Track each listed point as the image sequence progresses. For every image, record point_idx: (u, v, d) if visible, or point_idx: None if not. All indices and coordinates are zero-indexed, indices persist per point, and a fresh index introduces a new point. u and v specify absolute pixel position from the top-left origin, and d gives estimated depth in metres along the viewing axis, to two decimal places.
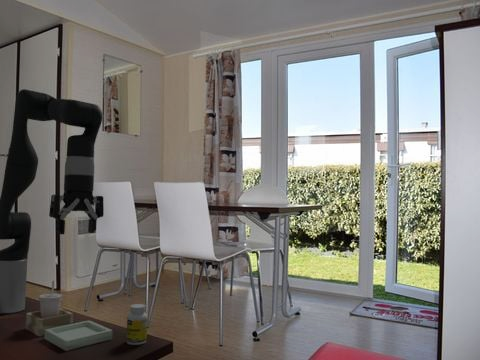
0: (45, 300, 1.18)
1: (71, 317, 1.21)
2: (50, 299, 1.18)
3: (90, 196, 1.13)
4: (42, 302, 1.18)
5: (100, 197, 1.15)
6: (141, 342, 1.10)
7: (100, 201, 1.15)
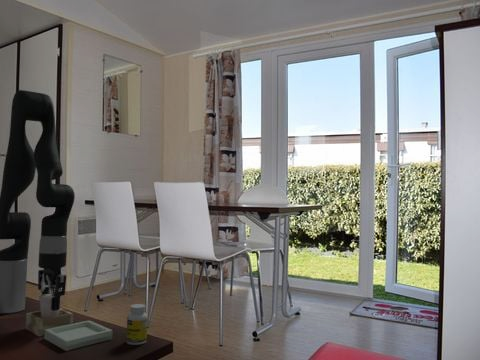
0: (45, 300, 1.18)
1: (71, 317, 1.21)
2: (50, 299, 1.18)
3: None
4: (42, 302, 1.18)
5: None
6: (141, 342, 1.10)
7: None
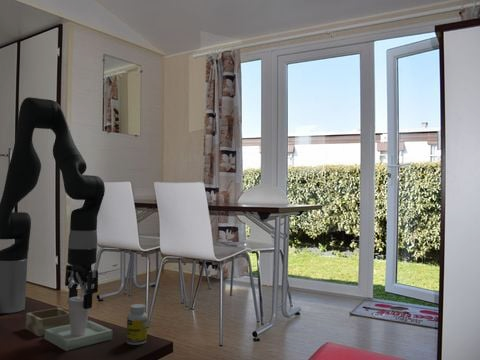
0: (74, 303, 1.10)
1: None
2: (80, 302, 1.11)
3: None
4: (71, 305, 1.11)
5: None
6: (141, 342, 1.10)
7: None
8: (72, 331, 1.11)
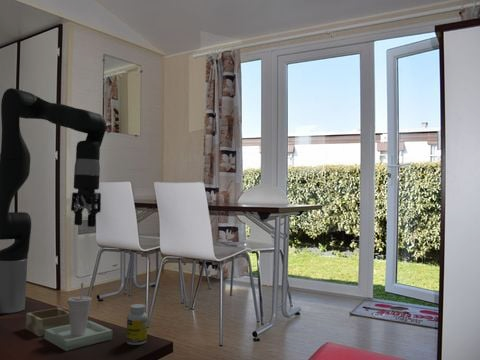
0: (74, 303, 1.10)
1: None
2: (80, 302, 1.11)
3: None
4: (71, 306, 1.11)
5: None
6: (141, 342, 1.10)
7: None
8: (72, 331, 1.11)
